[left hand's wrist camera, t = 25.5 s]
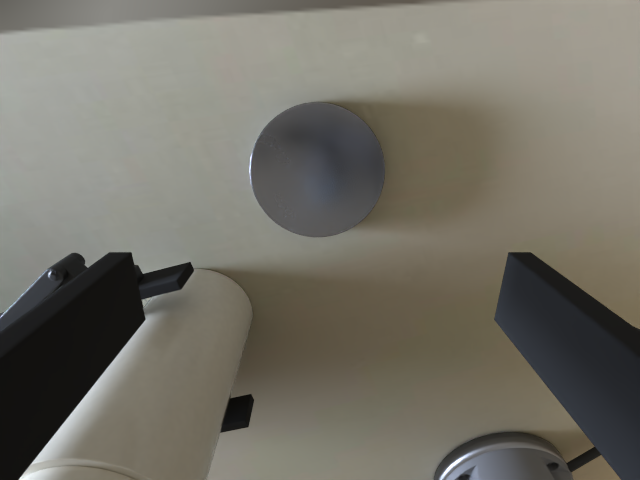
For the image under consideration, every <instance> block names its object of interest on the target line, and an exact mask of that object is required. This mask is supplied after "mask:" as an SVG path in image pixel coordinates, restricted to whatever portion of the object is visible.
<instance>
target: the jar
mask: <svg viewBox="0 0 640 480" xmlns="http://www.w3.org/2000/svg"><path fill="white" fill-rule="evenodd" d="M143 309H144V314H145V318H146V320H145V321H144V322H143V324H142V325H141V326H140V327H139V329H138V330H137V331H136V332H135V334H134V335H133V336H132V338H131V339H130V340H129V341H128V343H127V344H126V345H125V346H124V348H123V349H122V350H121V351H120V353H119V354H118V355H117V356H116V358H115V359H114V360H113V361H112V363H111V364H110V365H109V367H108V368H107V369H106V370H105V372H104V373H103V374H102V375H101V377H100V378H99V379H98V380H97V382H96V383H95V384H94V385H93V387H92V388H91V389H90V390H89V392H88V393H87V394H86V395H85V397H84V398H83V399H82V401H81V402H80V403H79V404H78V406H77V407H76V408H75V409H74V411H73V412H72V413H71V414H70V416H69V417H68V418H67V419H66V421H65V422H64V423H63V424H62V426H61V427H60V428H59V429H58V431H57V432H56V433H55V435H54V436H53V437H52V438H51V440H50V441H49V442H48V443H47V445H46V446H45V447H44V448H43V450H42V451H41V452H40V453H39V455H38V456H37V457H36V458H35V460H34V461H33V462H32V464H31V465H30V466H29V467H28V469H27V470H26V471H25V472H24V474H23V475H22V476H21V477H20V479H19V480H207V477H208V474H209V470H210V467H211V463H212V460H213V456H214V453H215V449H216V446H217V442H218V439H219V435H220V432H221V428H222V425H223V421H224V418H225V414H226V411H227V407H228V404H229V400H230V397H231V393H232V390H233V386H234V383H235V379H236V376H237V373H238V369H239V366H240V362H241V359H242V355H243V352H244V348H245V345H246V341H247V338H248V334H249V331H250V327H251V324H252V318H253V312H252V306H251V303H250V300H249V298H248V296H247V295H246V293H245V292H244V290H243V289H242V288H241V287H240V286H239V285H238V284H237V283H236V282H235V281H233V280H232V279H230V278H229V277H227V276H225V275H223V274H221V273H218V272H215V271H211V270H206V269H194V272H193V273H192V275H191V276H190V278H189V279H188V281H187V282H186V284H185V285H184V287H183V288H182V289H181V290H178V291H174V292H170V293H166V294H162V295H158V296H153V297H151V299H150V300H149V301H148V302H147V304H146V305H145V306H144V307H143Z"/></svg>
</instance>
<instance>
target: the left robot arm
mask: <svg viewBox="0 0 640 480" xmlns="http://www.w3.org/2000/svg"><path fill="white" fill-rule="evenodd" d="M145 320H146V318H145V314H144V309H143V304H142V300H141V295H140V290H139V286H138V281H137V276H136V272H135V267H134V262H133V257H132V253H131V252H109V253H108V254H107V255H105V256H104V257H102V258H101V259H100V260H98V261H97V262H96V263H94V264H93V265H91V266H90V267H89V268H87V269H86V270H84V271H83V272H82V273H80V274H79V275H78V276H76V277H75V278H73V279H72V280H71V281H69V282H68V283H67V284H65V285H64V286H62V287H61V288H60V289H58V290H57V291H55V292H54V293H53V294H51V295H50V296H49V297H47V298H46V299H44V300H43V301H42V302H40V303H39V304H37V305H36V306H35V307H33V308H32V309H31V310H29V311H28V312H26V313H25V314H24V315H22V316H21V317H20V318H18V319H17V320H15V321H14V322H13V323H11V324H10V325H8V326H7V327H6V328H4V329H3V330H2V331H0V480H19V479H20V477H21V476H22V475H23V474H24V472H25V471H26V470H27V469H28V467H29V466H30V465H31V464H32V462H33V461H34V460H35V458H36V457H37V456H38V455H39V453H40V452H41V451H42V450H43V448H44V447H45V446H46V445H47V443H48V442H49V441H50V440H51V438H52V437H53V436H54V435H55V433H56V432H57V431H58V429H59V428H60V427H61V426H62V424H63V423H64V422H65V421H66V419H67V418H68V417H69V416H70V414H71V413H72V412H73V411H74V409H75V408H76V407H77V406H78V404H79V403H80V402H81V401H82V399H83V398H84V397H85V395H86V394H87V393H88V392H89V390H90V389H91V388H92V387H93V385H94V384H95V383H96V382H97V380H98V379H99V378H100V377H101V375H102V374H103V373H104V372H105V370H106V369H107V368H108V367H109V365H110V364H111V363H112V361H113V360H114V359H115V358H116V356H117V355H118V354H119V353H120V351H121V350H122V349H123V348H124V346H125V345H126V344H127V343H128V341H129V340H130V339H131V338H132V336H133V335H134V334H135V332H136V331H137V330H138V329H139V327H140V326H141V325H142V324H143V322H144V321H145ZM494 320H495V321H496V322H497V324H498V325H499V326H500V327H501V329H502V330H503V331H504V332H505V334H506V335H507V336H508V338H509V339H510V340H511V341H512V343H513V344H514V345H515V346H516V348H517V349H518V350H519V351H520V353H521V354H522V355H523V356H524V358H525V359H526V360H527V361H528V363H529V364H530V365H531V367H532V368H533V369H534V370H535V372H536V373H537V374H538V375H539V377H540V378H541V379H542V380H543V382H544V383H545V384H546V385H547V387H548V388H549V389H550V390H551V392H552V393H553V394H554V395H555V397H556V398H557V399H558V401H559V402H560V403H561V404H562V406H563V407H564V408H565V409H566V411H567V412H568V413H569V414H570V416H571V417H572V418H573V419H574V421H575V422H576V423H577V424H578V426H579V427H580V428H581V429H582V431H583V432H584V433H585V435H586V436H587V437H588V438H589V440H590V441H591V442H592V443H593V445H594V446H595V447H593V448H592V449H590V450H588V451H587V452H585V453H583V454H581V455H580V456H578V457H576V458H575V459H573V460H571V461H569V462H568V463H566V462H565V461H564V459H563V458H562V456H561V455H560V453H559V452H558V450H557V449H556V448H555V447H554V446H553V445H552V444H551V443H549V442H548V441H546V440H544V439H542V438H540V437H537V436H534V435H530V434H525V433H513V432H509V433H497V434H491V435H486V436H483V437H480V438H477V439H474V440H471V441H469V442H467V443H465V444H463V445H461V446H460V447H458V448H457V449H455V450H454V451H452V452H451V453H450V454H449V455H448V456H447V457H446V458H445V459H444V460H443V461H442V462H441V464H440V465H439V467H438V468H437V470H436V473H435V476H434V480H573V476H572V473H571V472H572V471H574V470H576V469H577V468H579V467H581V466H583V465H584V464H586V463H588V462H590V461H591V460H593V459H595V458H596V457H598V456H600V455H602V456H603V457H604V458H605V460H606V461H607V462H608V464H609V465H610V466H611V467H612V469H613V470H614V471H615V472H616V474H617V475H618V476H619V477H620V479H621V480H640V329H638V328H635V327H633V326H632V325H630V324H629V323H627V322H626V321H625V320H623V319H622V318H620V317H619V316H618V315H616V314H615V313H614V312H612V311H611V310H609V309H608V308H607V307H605V306H604V305H603V304H601V303H600V302H598V301H597V300H596V299H594V298H593V297H591V296H590V295H589V294H587V293H586V292H585V291H583V290H582V289H580V288H579V287H578V286H576V285H575V284H573V283H572V282H571V281H569V280H568V279H567V278H565V277H564V276H562V275H561V274H560V273H558V272H557V271H556V270H554V269H553V268H551V267H550V266H549V265H547V264H546V263H544V262H543V261H542V260H540V259H539V258H538V257H536V256H535V255H533V254H532V253H531V252H509V253H508V257H507V262H506V267H505V272H504V276H503V281H502V286H501V290H500V295H499V300H498V304H497V309H496V314H495V318H494Z"/></svg>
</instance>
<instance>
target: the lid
mask: <svg viewBox="0 0 640 480" xmlns="http://www.w3.org/2000/svg"><path fill="white" fill-rule="evenodd" d="M384 176H385V164H384V157H383V152H382V149H381V147H380V144H379V142H378V140H377V138H376V136H375V134H374V133H373V131H372V130H371V129H370V127H369V126H368V125H367V124H366V123H365V122H364V121H363V120H362V119H361V118H359V117H358V116H357V115H355V114H354V113H352V112H351V111H349V110H347V109H345V108H343V107H341V106H338V105H335V104H331V103H324V102H310V103H303V104H300V105H297V106H294V107H292V108H289V109H287V110H286V111H284V112H282V113H281V114H279V115H278V116H276V117H275V118H274V119H273V120H272V121H270V122H269V124H268V125H267V126H266V127H265V128H264V129H263V131H262V132H261V134H260V135H259V137H258V139H257V141H256V143H255V145H254V148H253V151H252V156H251V161H250V179H251V184H252V188H253V191H254V194H255V197H256V199H257V201H258V203H259V204H260V206H261V207H262V209H263V210H264V212H265V213H266V214H267V215H268V216H269V217H270V218H271V219H272V220H273V221H274V222H275V223H277V224H278V225H280V226H281V227H283V228H285V229H287V230H288V231H291V232H293V233H296V234H299V235H303V236H309V237H326V236H332V235H336V234H339V233H342V232H344V231H347V230H348V229H350V228H352V227H354V226H355V225H357V224H358V223H359V222H361V221H362V220H363V219H364V218H365V217H366V216H367V215H368V214H369V213H370V211H371V210H372V209H373V207H374V206H375V204H376V202H377V200H378V198H379V196H380V194H381V191H382V188H383V183H384Z"/></svg>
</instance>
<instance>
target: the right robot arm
mask: <svg viewBox="0 0 640 480" xmlns="http://www.w3.org/2000/svg"><path fill="white" fill-rule="evenodd" d="M134 267H135V272H136V276H137V281H138V286H139V290H140V295H141V299H145V298H149V297H153V296H158V295H162V294H166V293H170V292H174V291H178V290H181V289H182V288H183V287H184V285H185V284H186V282H187V281H188V279H189V278H190V276H191V275H192V273H193V272H194V269H193V267H192V265H191V262H188V263H184V264H181V265H177V266H173V267H169V268H165V269H161V270H157V271H153V272H149V273H145V274H142V272H141V270H140V268H139V266H138V265H134ZM86 269H87V267H86V266H85V260H84V258H83V257H82V255H80V254H78V253H71V254H70V255H68V256H67V257H65V258H64V259H62V260H60V261H59V262H57V263H56V264H54V265H53V266H52V267H50V268H48V269H47V270H46V271H45V272H44V273H43V274H42V275H41V276H40V277H39V278H38V279H37V280H36V281H35V282H34V283H33V284H32V285H31V286H30V287H29V288H28V289H27V290H26V291H25V292H24V293H23V294H22V295H21V296H20V297H19V298H18V299H17V300H16V301H15V302H14V303H13V304H12V305H11V306H10V308H9V309H8V310H7V311H6V312H3V313H1V314H0V331H2V330H3V329H4V328H6V327H7V326H8V325H10V324H11V323H13V322H14V321H15V320H17V319H18V318H20V317H21V316H22V315H24V314H25V313H26V312H28V311H29V310H31V309H32V308H33V307H35V306H36V305H37V304H39V303H40V302H42V301H43V300H44V299H46V298H47V297H49V296H50V295H51V294H53V293H54V292H55V291H57V290H58V289H60V288H61V287H62V286H64V285H65V284H67V283H68V282H69V281H71V280H72V279H73V278H75V277H76V276H78V275H79V274H80V273H82V272H83V271H84V270H86ZM253 402H254V399H253V397H252V395H251V394H249V395H244V396H239V397H235V398H230V400H229V404H228V407H227V411H226V414H225V418H224V421H223V425H222V428H221V432H226V431H231V430H236V429H241V428H246V427H248V426H249V422H250V417H251V412H252V407H253ZM221 432H220V433H221Z"/></svg>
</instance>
